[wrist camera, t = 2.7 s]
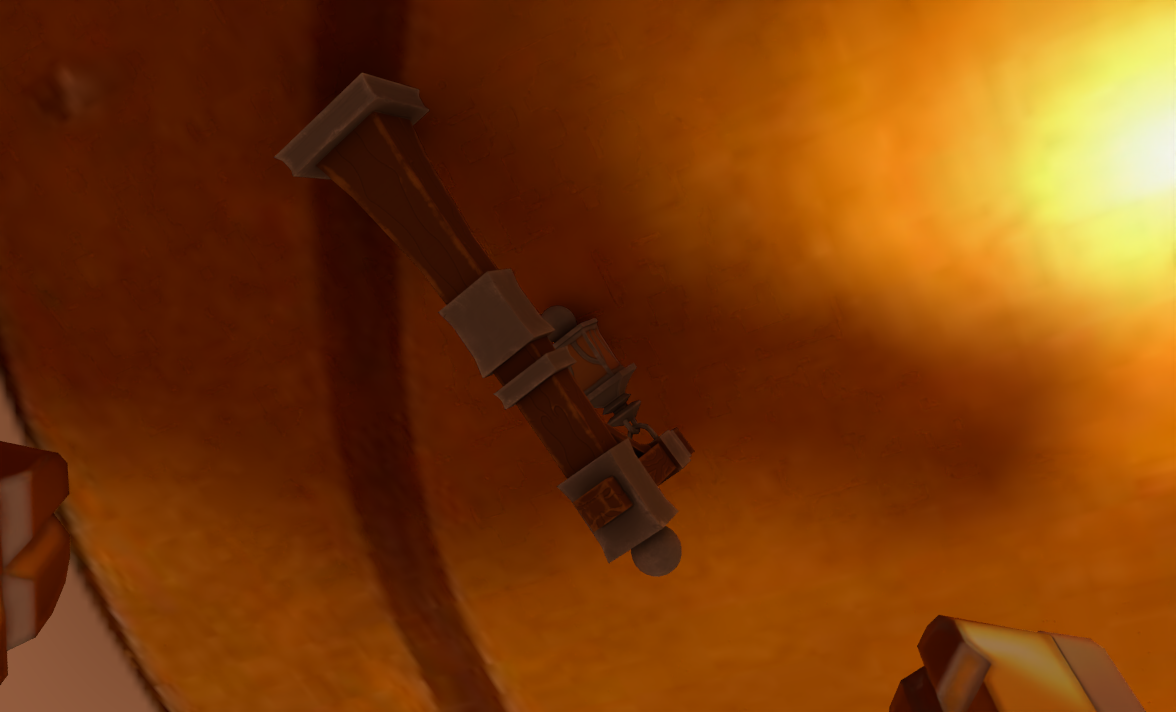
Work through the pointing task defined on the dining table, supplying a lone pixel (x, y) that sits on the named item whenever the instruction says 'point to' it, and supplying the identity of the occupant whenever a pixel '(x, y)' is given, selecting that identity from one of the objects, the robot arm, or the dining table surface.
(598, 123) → the dining table surface
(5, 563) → the robot arm
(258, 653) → the dining table surface
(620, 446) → the brown buckled strap
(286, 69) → the dining table surface
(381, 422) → the dining table surface
